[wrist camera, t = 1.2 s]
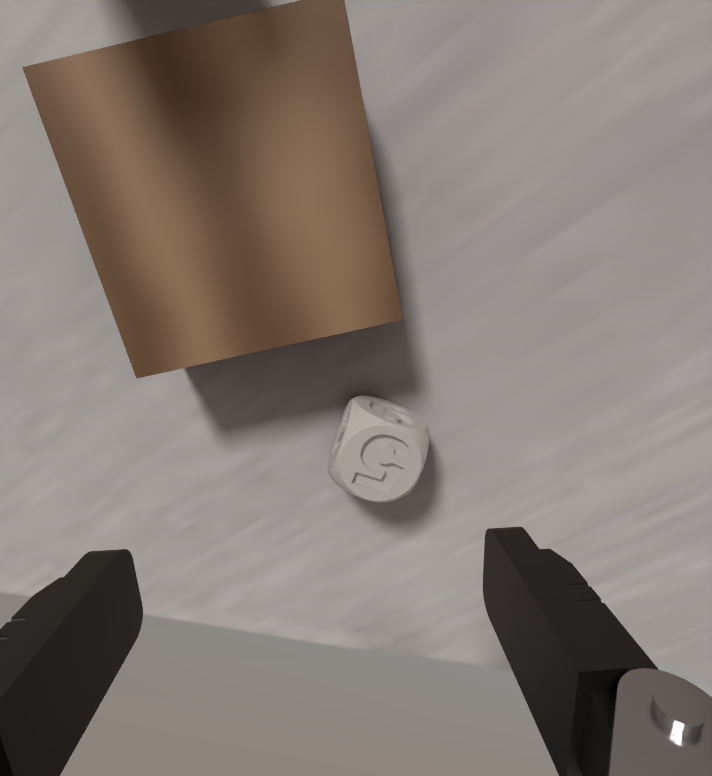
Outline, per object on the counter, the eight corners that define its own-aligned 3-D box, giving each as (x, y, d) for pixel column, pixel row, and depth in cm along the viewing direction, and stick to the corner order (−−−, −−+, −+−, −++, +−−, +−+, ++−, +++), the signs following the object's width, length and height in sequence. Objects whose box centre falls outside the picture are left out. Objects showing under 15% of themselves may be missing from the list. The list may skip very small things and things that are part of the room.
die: (328, 453, 29) (325, 489, 24) (351, 388, 28) (353, 411, 23) (395, 474, 29) (405, 513, 25) (420, 411, 28) (437, 438, 24)
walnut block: (342, 61, 23) (342, -10, 17) (389, 310, 27) (402, 319, 21) (101, 118, 24) (22, 67, 18) (180, 356, 27) (136, 378, 21)
